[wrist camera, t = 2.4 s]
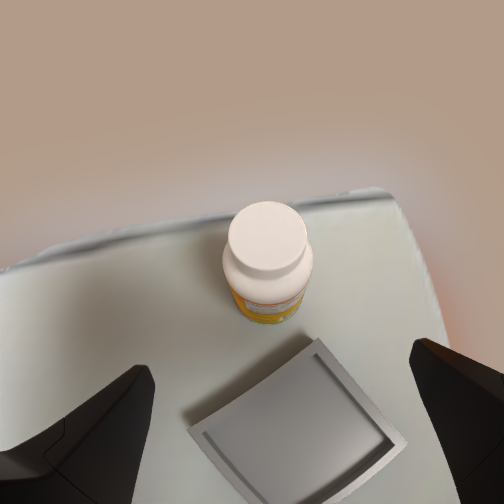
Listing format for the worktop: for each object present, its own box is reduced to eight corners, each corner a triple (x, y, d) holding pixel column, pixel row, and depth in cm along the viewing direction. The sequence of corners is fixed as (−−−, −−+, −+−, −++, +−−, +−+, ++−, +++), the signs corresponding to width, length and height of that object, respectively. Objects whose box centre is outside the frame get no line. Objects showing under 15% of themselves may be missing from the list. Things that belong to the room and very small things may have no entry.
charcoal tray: (282, 524, 13) (283, 534, 12) (192, 426, 18) (186, 429, 16) (398, 440, 16) (408, 443, 14) (314, 341, 21) (318, 337, 19)
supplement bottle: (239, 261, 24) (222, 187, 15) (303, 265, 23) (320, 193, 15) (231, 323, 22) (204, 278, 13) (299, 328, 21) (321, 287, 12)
